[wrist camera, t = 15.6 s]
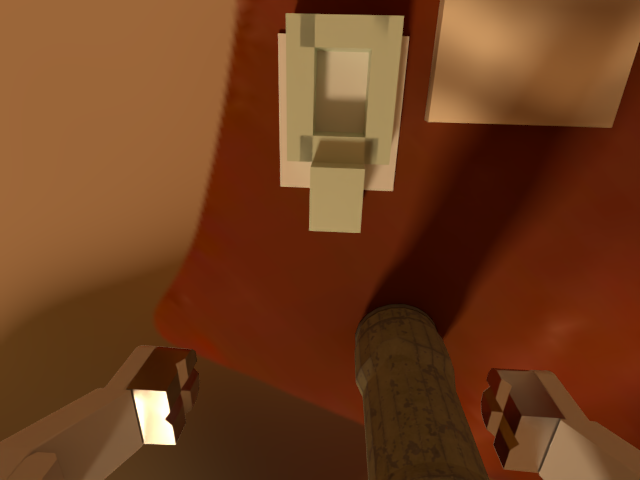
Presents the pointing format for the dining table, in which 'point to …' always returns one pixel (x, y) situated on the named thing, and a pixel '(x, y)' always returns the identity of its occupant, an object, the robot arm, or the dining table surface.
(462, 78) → the post stand
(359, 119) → the mat
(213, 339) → the dining table surface
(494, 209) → the dining table surface
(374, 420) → the stone moai statue
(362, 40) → the link
